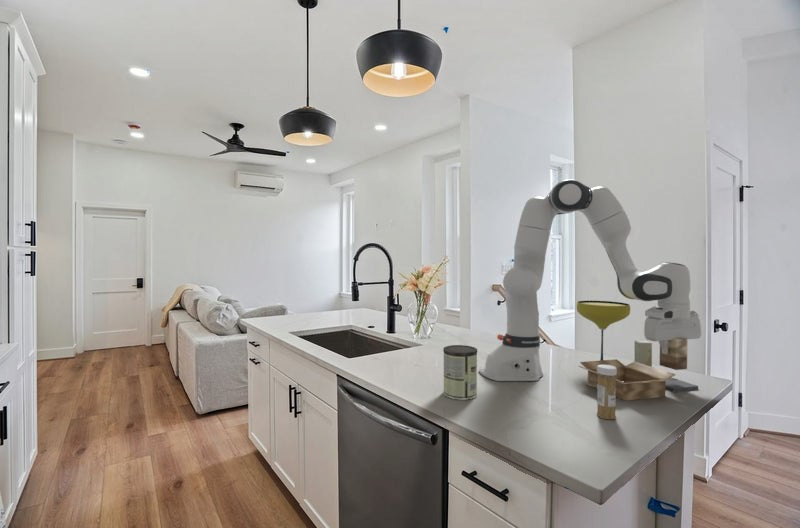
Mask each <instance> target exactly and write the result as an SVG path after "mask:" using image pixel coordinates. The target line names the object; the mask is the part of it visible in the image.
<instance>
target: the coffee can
mask: <svg viewBox="0 0 800 528" xmlns="http://www.w3.org/2000/svg"><path fill="white" fill-rule="evenodd" d="M442 351H443V391H442V392H443V393H442V394H443V395H444V397H446V396H447V397H446V398H448V397H449V398H448V399H450V398H452V399H451V400H455V399H458V400H457V401H469V400H468V399H470V400H473V399H476V398H477V396H478V394H477V391H478V389H477V388H478V387H477V386H478V382H477V381H478V380H477V379H478V378H477V377H478V357H477V356H478V348H476V347H475V346H471V345H464V344H453V345H447V346H444V347H443V349H442ZM472 398H473V399H472Z"/></svg>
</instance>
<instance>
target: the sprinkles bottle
mask: <svg viewBox="0 0 800 528" xmlns="http://www.w3.org/2000/svg"><path fill="white" fill-rule="evenodd" d="M597 372H598V384H597V388H596V389H597V390H596V391H597V393H596V394H597V395H596V396H597V397H596V398H597V399H596V400H597V408H596V409H597V410H596V411H597V412H596V416H598V417H599V418H601V419H604V420H615V419H616V418H617V416H616V406H617V402H616V400H617V397H616V375H617V368H616V367H614V366H611V365H598V366H597Z"/></svg>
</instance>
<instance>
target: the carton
mask: <svg viewBox="0 0 800 528" xmlns="http://www.w3.org/2000/svg"><path fill="white" fill-rule="evenodd" d="M579 364H581V365H582V366H580V365H578V367H579V368H581V369H584V370H587V385H588V384H589V385H588V386H590V385H591V387H593V388H595V387H596V388H595V389H597V384H598V372H597V366H598V365H611V366H614V367H616V368H617V375H616V398H618V399H620V398H621V399H620V400H622V399H623V401H625V400H626V401H633V400H634V401H635V400H642V399H653V398H662V397H666V391H667V389H666V381H670V380H677V379H678V378H675V379H669V378H671V377H672V378H674V377H675V376H676V374H675V373H672V372H669V371H666V370H663V369H660V368H657V367H653V366H652V367H650V366H647V365H644V364H641V363H638V362H635V361H633V362H631V363H628V364H627V365H625V364H624V363H622V362H621V361H620V360H619V359H605V360H604V359H603V360H602V361H600V360H589V361H580V363H579ZM622 381H626V382H622ZM627 382H628V383H627Z"/></svg>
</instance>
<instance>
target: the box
mask: <svg viewBox="0 0 800 528" xmlns="http://www.w3.org/2000/svg"><path fill="white" fill-rule="evenodd" d="M652 351H653V343H652V342H651V341H649V340H639V339H635V340H634V362H638V363H641V364H644V365H647V366H650V367H653V365H652V364H653V352H652Z"/></svg>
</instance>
